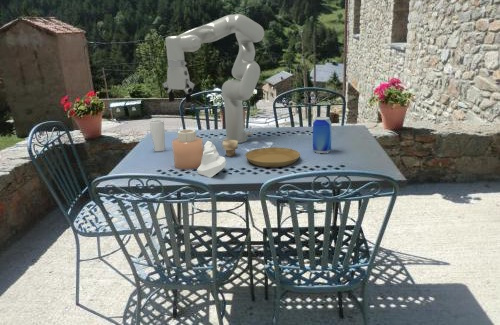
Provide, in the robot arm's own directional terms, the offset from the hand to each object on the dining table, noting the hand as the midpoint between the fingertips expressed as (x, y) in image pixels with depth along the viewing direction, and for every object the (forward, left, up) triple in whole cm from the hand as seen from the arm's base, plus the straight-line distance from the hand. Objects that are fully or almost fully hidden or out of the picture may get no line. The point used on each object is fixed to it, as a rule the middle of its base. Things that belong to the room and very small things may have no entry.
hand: (180, 101), depth 198 cm
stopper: (-19, +14, -25) cm, 34 cm away
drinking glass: (+10, -11, -25) cm, 29 cm away
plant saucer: (-33, +31, -26) cm, 52 cm away
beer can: (-59, +29, -25) cm, 70 cm away
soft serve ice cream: (-4, +35, -25) cm, 43 cm away
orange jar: (+2, +19, -25) cm, 31 cm away
